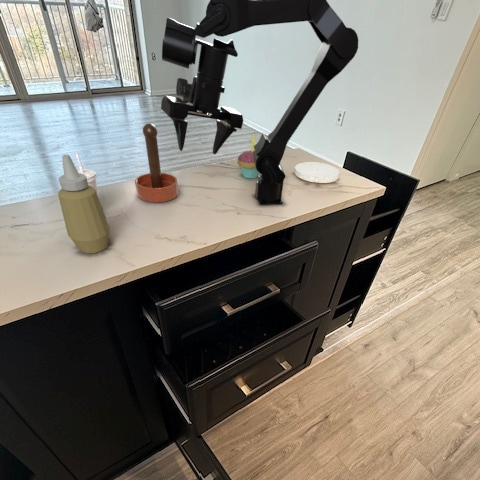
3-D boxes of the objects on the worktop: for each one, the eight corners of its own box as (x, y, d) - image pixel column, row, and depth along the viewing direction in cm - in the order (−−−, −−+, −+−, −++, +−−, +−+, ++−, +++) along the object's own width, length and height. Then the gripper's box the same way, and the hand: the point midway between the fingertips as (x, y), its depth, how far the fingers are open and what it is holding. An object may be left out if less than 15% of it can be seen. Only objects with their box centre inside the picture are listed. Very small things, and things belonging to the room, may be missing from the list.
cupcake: (239, 169, 104) (241, 128, 96) (264, 172, 104) (269, 131, 95) (235, 179, 98) (237, 136, 90) (262, 182, 98) (266, 139, 89)
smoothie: (97, 222, 75) (79, 159, 65) (72, 218, 76) (51, 155, 66) (111, 210, 79) (96, 149, 70) (87, 207, 80) (69, 146, 70)
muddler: (168, 192, 88) (161, 123, 76) (159, 197, 85) (149, 126, 73) (157, 189, 89) (148, 120, 77) (147, 193, 86) (136, 123, 75)
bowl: (177, 186, 92) (175, 172, 89) (179, 202, 85) (178, 187, 82) (138, 187, 90) (135, 173, 87) (137, 204, 83) (134, 189, 80)
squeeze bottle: (79, 236, 70) (49, 147, 57) (117, 236, 71) (95, 149, 58) (68, 257, 64) (32, 163, 52) (109, 257, 65) (83, 164, 52)
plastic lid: (312, 189, 96) (314, 180, 94) (285, 173, 104) (286, 165, 102) (346, 182, 101) (348, 173, 99) (318, 167, 109) (319, 159, 108)
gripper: (229, 75, 77) (215, 143, 88) (155, 55, 68) (150, 135, 78) (252, 88, 72) (235, 160, 82) (175, 70, 62) (166, 153, 72)
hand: (197, 152), depth 79 cm, fingers open, 9 cm apart
